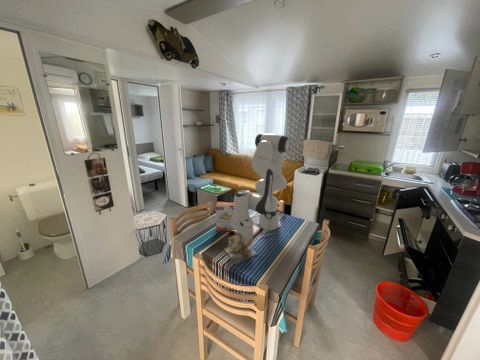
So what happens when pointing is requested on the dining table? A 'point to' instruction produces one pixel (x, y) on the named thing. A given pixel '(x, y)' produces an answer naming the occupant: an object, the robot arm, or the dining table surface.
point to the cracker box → (224, 216)
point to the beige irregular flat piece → (238, 243)
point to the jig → (241, 253)
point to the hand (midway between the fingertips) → (240, 238)
